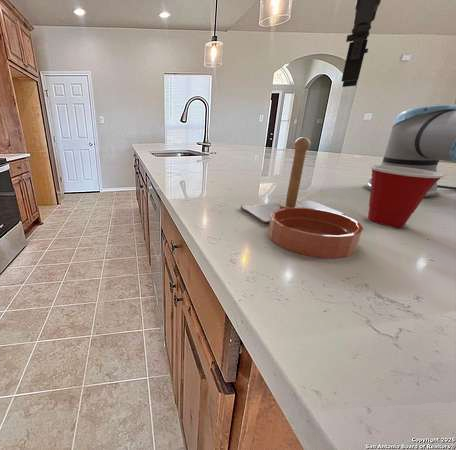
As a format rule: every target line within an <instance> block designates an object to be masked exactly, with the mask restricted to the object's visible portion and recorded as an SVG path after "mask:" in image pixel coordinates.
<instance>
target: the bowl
mask: <svg viewBox="0 0 456 450" xmlns="http://www.w3.org/2000/svg"><path fill="white" fill-rule="evenodd" d="M268 225H269V227H268V232H267V236H268V237H269V239H270V240H271V241H272V242H273V243H274V244H276V245H277V246H279V247H281V248H283V249H285V250H287V251H290V252H294V253H297V254H299V255H302V256H303V255H304V256H309V257H314V258H321V259H338V258H339V259H340V258H346V257H349V256H352V255H354V254H355V253H356V251H357V249H358V245H359V242H360V239H361V237H362V234H363V231H364V227H363V225H362V224H361V223H360V222H358V221H357V220H355V219H354V218H352V217H349V216H347V215H345V216H344V215H342V214H338V213H334V212H331V211H326V210H320V209H312V208H283V209H279V210H276V211H274V212H273V213H272V214H271V219H270V224H268Z"/></svg>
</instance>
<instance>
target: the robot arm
mask: <svg viewBox="0 0 456 450" xmlns="http://www.w3.org/2000/svg"><path fill="white" fill-rule="evenodd" d="M355 1H356V2H355V9H354V10H355V11H354V16H355V17H354V22H353V28H352V29H351V34H348V35H347V36H346V40H345V42H346V43H349V45H348V49H347V53H346V58H345V62H344V67H343V71H342V77H341V80H340V81H341V82H342V88H346V87H347V88H349V87H355V86H356V87H357V84H358V81H359V78H360V74H361V69H362V65H363V63H364V62H363V61H364V58H365V54H368V52H369V48H367V45H368V41H369V40H368V37H369V36H370V30H371V28H372V22H374V20H375V19H376V15H377V11H378V9H379V6H380V4H381V1H382V0H355ZM384 152H385V153H384V155H383V158H382V161H381V164H380V165H386V166H398V167H407V168H415V169H422V170H428V171H433V172H437V167H438V164H439V162H440V161H444V162H451V163H456V104H441V105H431V106H423V107H417V108H411V109H407V110H403V111H402V112H400V113H399V114H398V115H397V117H396V119H395V121H394V124H393V125H392V129H391V132H390V136H389V139H388V143H387V145H386V149H385V151H384ZM371 180H372V177H371V178H370V179H369V180H368V182H367V184H366V188H367V189H368V190H369V191H371V184H372V182H371ZM438 189H445V190H446V189H447V190H456V186H448V185H441V184H440V185H439V184H438V181H437V182H436V183H435V184H434V185H433V186H432V187H431V189H429V191H428V192H427V194H426V195H425V196H424V198H430V197H434V196H435V195H436V193H437V191H438Z"/></svg>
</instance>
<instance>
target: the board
mask: <svg viewBox="0 0 456 450" xmlns="http://www.w3.org/2000/svg"><path fill="white" fill-rule="evenodd" d="M280 203H281V202H273V203H262V204H252V205H251V204H250V205H241V206H240V210H242V211H243V212H245V213H246V214H248V215H250V216H251V217H252V218H254V219H255V220H257V221H258V222H259V223H261V224H262V225H270V219H271V214H272V213H273V212H274V211H276V210H279V204H280ZM296 203H297V204H299V205H301V206H302V207H301V208H312V209H320V210H326V211H331V212H334V213H338V214H342V215H344V216H346V213H344V212H342V211H339V210H337V209H334V208H332V207H329V206H326V205H325V204H321V203H318V202H316V201H313V200H311V199H309V200H308V199H307V200H298V201H296Z"/></svg>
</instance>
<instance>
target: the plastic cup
mask: <svg viewBox="0 0 456 450" xmlns="http://www.w3.org/2000/svg"><path fill="white" fill-rule="evenodd" d="M370 169H371V178H372V180H371V182H372V184H371V190H370V193H369V202H368V214H367V215H368V216H367V218H368V220H369V221H370V222H373V223H375V224H379V225H381V226H382V225H383V226H389V227H391V228H394V229H402V228H403V227H404V226H406V224H407V222H408V221H409V219H410V218H411V216H412V215H413V214H414V213H415V211H416V210H417V208H418V207H419V205H420V204H421V203H422V202H423V199H424V198H425V197H424V196H425V195H426V194H427V192H428V191H429V189H431V187H432V186H433V185H434V184H435V183H436V182H437V183H438V181H440V179H442V178H444V177H445V173H441V172H437V171H436V172H433V171H428V170H422V169H415V168H407V167H398V166H386V165H381V164H375V165H371V166H370Z"/></svg>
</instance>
